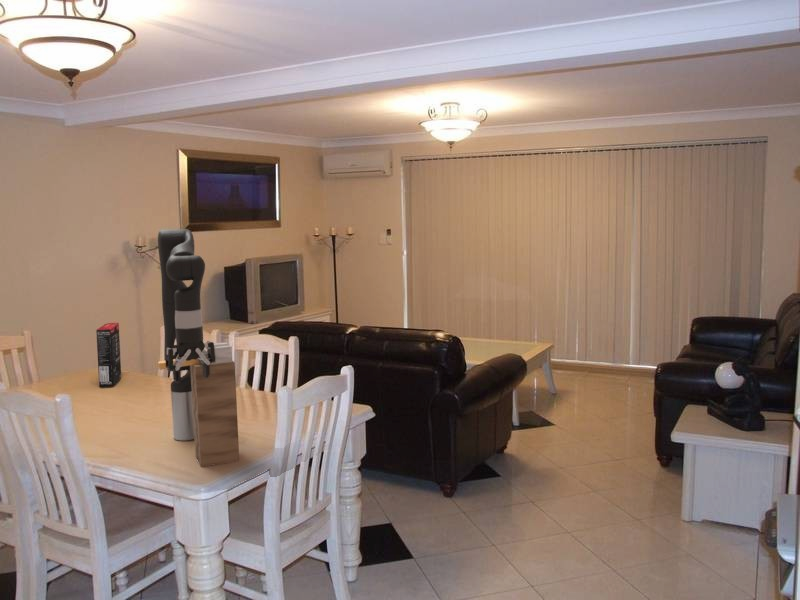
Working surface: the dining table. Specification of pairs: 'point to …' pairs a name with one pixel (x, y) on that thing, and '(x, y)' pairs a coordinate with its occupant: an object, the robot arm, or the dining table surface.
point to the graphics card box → (108, 354)
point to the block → (191, 362)
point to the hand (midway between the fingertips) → (191, 379)
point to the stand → (215, 409)
